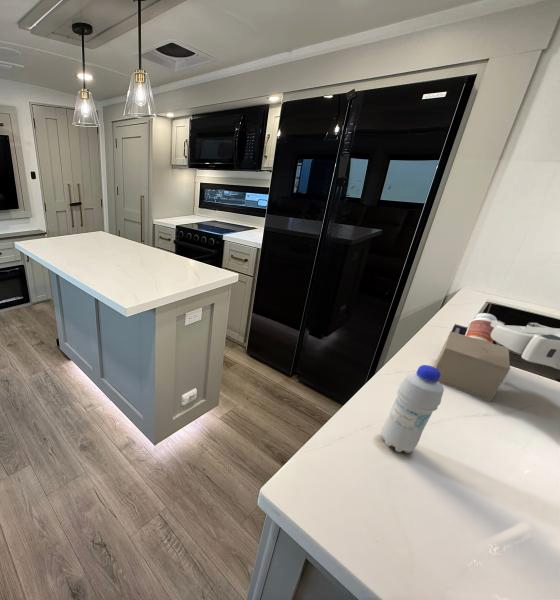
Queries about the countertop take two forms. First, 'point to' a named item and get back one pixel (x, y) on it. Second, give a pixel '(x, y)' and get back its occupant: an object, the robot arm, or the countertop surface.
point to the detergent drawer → (463, 330)
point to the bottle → (412, 408)
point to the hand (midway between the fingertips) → (511, 323)
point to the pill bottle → (481, 327)
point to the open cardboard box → (472, 365)
